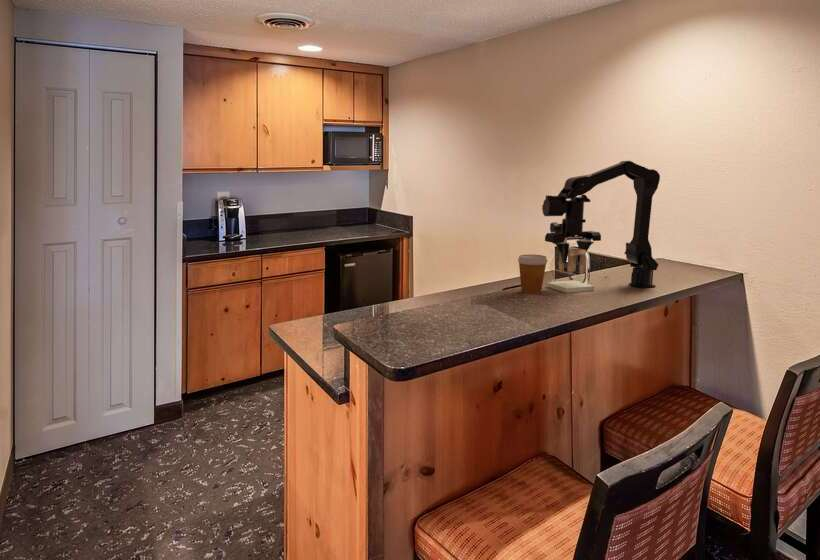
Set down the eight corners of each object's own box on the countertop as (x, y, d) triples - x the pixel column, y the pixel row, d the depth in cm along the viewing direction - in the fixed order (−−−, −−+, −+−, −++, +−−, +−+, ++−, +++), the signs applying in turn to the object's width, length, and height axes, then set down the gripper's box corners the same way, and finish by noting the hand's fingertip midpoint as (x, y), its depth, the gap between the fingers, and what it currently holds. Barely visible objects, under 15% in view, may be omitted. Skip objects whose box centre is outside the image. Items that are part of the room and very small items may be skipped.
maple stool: (573, 270, 195) (574, 247, 194) (584, 273, 190) (585, 249, 188) (558, 271, 193) (559, 248, 192) (569, 274, 188) (570, 250, 186)
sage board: (573, 284, 199) (573, 280, 199) (594, 290, 189) (594, 286, 189) (547, 286, 196) (547, 282, 195) (566, 292, 185) (566, 288, 185)
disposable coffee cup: (544, 289, 190) (545, 254, 188) (548, 295, 181) (549, 258, 179) (515, 289, 191) (516, 254, 189) (517, 295, 182) (519, 258, 180)
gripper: (582, 213, 198) (579, 257, 201) (536, 215, 192) (534, 260, 195) (603, 215, 188) (600, 262, 191) (555, 217, 182) (553, 265, 185)
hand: (571, 262), depth 191 cm, fingers closed on maple stool, 6 cm apart
